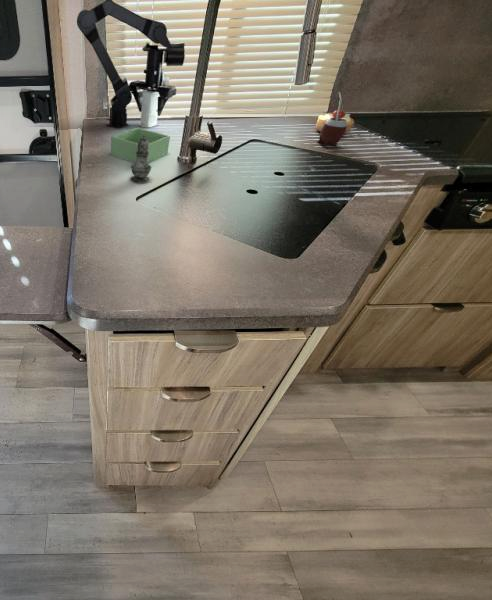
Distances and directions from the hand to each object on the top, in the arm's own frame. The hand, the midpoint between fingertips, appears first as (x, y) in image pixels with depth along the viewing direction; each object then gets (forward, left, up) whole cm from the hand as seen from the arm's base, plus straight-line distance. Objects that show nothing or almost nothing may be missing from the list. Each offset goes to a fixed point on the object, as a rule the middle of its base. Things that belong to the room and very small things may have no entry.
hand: (149, 113), depth 131 cm
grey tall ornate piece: (+31, -45, -4) cm, 55 cm away
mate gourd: (+60, +25, -4) cm, 65 cm away
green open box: (+18, -29, -4) cm, 34 cm away
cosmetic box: (0, 0, -4) cm, 4 cm away
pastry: (+57, +41, -4) cm, 70 cm away
